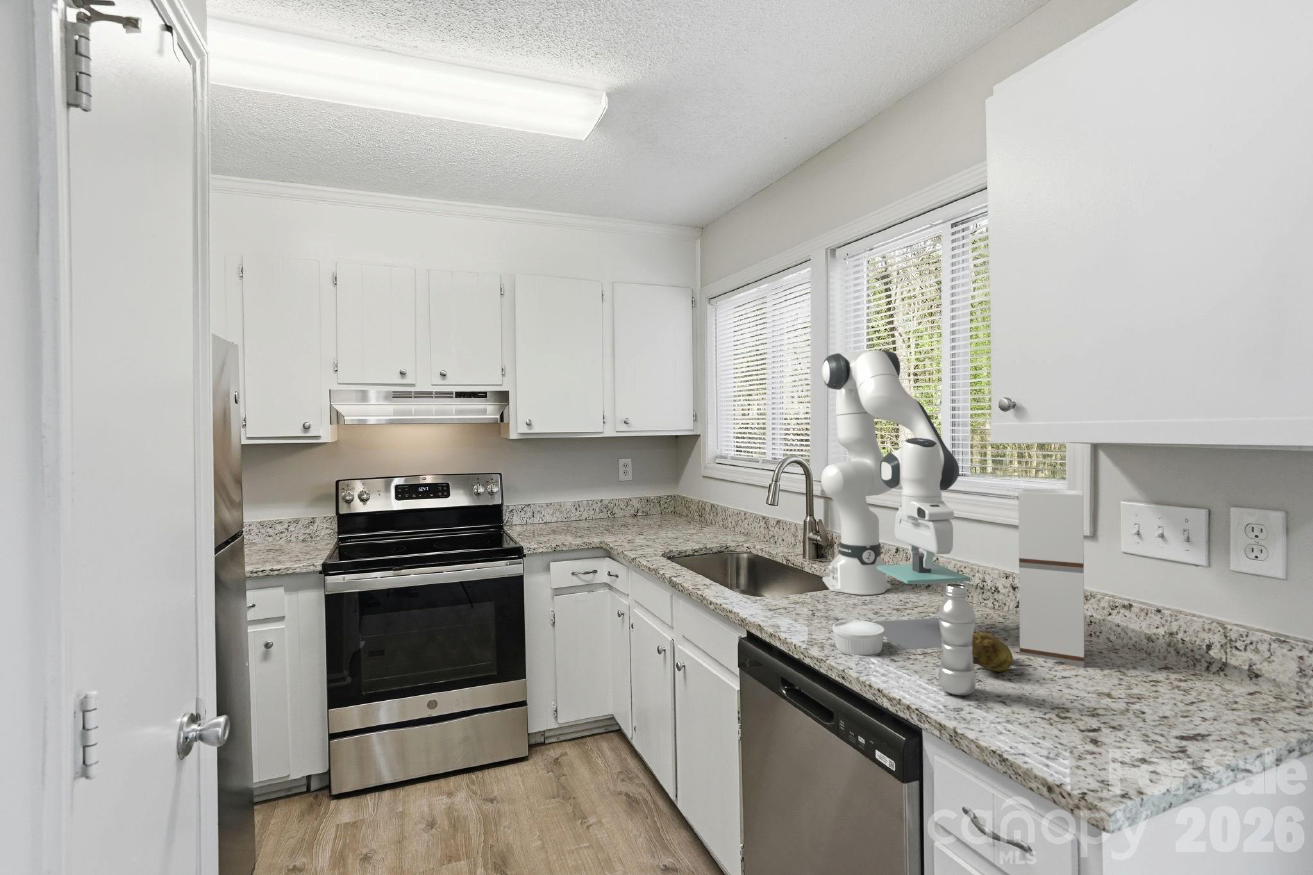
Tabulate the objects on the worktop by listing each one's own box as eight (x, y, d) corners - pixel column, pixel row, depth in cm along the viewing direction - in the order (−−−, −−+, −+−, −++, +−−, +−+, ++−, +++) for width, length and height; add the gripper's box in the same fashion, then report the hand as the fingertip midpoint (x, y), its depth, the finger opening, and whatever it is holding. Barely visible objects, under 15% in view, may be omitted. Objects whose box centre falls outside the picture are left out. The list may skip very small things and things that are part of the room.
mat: (864, 624, 164) (864, 622, 164) (939, 620, 166) (939, 617, 166) (903, 651, 144) (903, 649, 144) (988, 646, 147) (988, 643, 147)
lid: (876, 568, 162) (876, 549, 162) (934, 566, 164) (934, 547, 163) (907, 583, 147) (907, 562, 147) (970, 580, 149) (970, 559, 149)
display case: (1084, 651, 142) (1083, 490, 141) (1084, 667, 133) (1082, 495, 133) (1024, 642, 148) (1022, 488, 148) (1019, 657, 140) (1018, 492, 139)
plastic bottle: (976, 688, 124) (974, 582, 124) (977, 702, 118) (976, 591, 117) (938, 683, 127) (937, 580, 126) (938, 696, 120) (936, 588, 120)
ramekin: (848, 639, 154) (847, 616, 154) (894, 649, 146) (894, 626, 146) (823, 651, 146) (822, 627, 146) (870, 663, 138) (870, 638, 138)
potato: (1031, 671, 132) (1031, 631, 132) (989, 683, 126) (988, 641, 126) (994, 658, 139) (993, 620, 139) (952, 669, 134) (951, 630, 134)
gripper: (887, 502, 165) (888, 557, 165) (931, 513, 144) (931, 576, 145) (911, 501, 165) (911, 556, 166) (958, 512, 145) (958, 575, 146)
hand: (921, 565), depth 155 cm, fingers closed on lid, 3 cm apart
